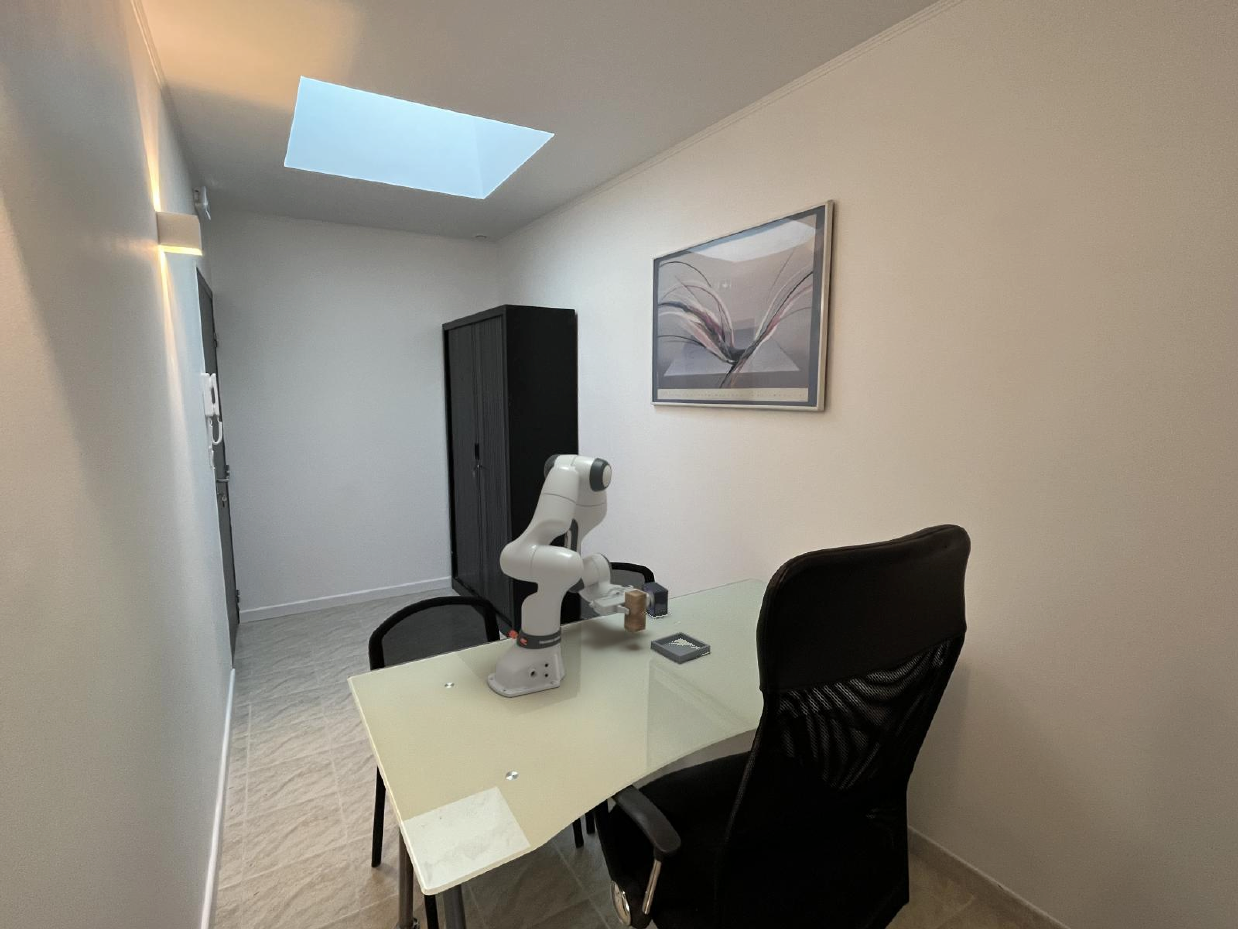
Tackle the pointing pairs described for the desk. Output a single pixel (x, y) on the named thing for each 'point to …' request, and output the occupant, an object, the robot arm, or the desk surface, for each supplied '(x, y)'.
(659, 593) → the small box
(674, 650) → the tray
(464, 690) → the desk surface
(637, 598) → the walnut block
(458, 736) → the desk surface
